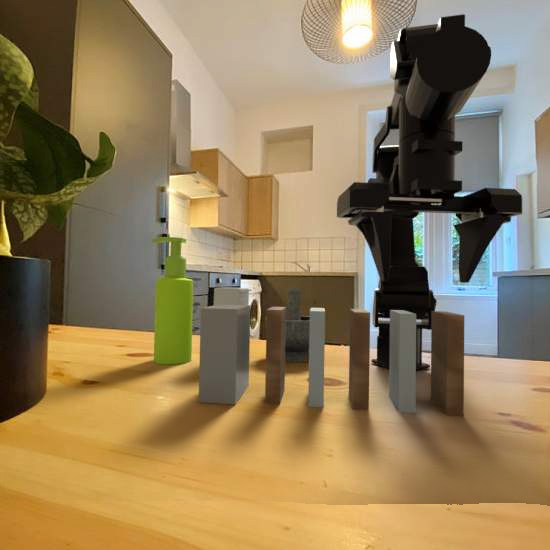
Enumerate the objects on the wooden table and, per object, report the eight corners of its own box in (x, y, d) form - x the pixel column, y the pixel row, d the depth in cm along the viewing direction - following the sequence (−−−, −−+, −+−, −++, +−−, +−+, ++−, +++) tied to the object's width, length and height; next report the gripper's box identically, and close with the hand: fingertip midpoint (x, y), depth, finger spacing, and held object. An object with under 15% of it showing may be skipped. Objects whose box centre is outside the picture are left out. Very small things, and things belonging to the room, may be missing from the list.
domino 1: (284, 390, 42) (286, 307, 42) (279, 404, 37) (281, 309, 37) (271, 389, 42) (272, 306, 42) (264, 403, 37) (266, 309, 37)
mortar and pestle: (320, 365, 55) (321, 289, 55) (261, 363, 55) (262, 288, 56) (318, 351, 66) (319, 288, 66) (269, 350, 67) (270, 287, 67)
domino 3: (362, 394, 41) (364, 309, 41) (368, 410, 36) (370, 312, 36) (348, 393, 41) (350, 308, 41) (352, 409, 36) (354, 312, 36)
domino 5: (445, 399, 39) (446, 311, 40) (463, 416, 34) (464, 315, 35) (430, 398, 40) (431, 311, 40) (446, 415, 35) (447, 314, 35)
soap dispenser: (158, 355, 60) (161, 239, 60) (196, 357, 59) (199, 239, 59) (140, 363, 54) (144, 235, 54) (182, 365, 53) (186, 235, 53)
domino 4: (403, 397, 40) (404, 310, 40) (415, 413, 35) (416, 314, 35) (389, 396, 40) (390, 309, 40) (398, 412, 35) (399, 313, 35)
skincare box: (237, 366, 53) (239, 288, 54) (211, 364, 54) (212, 287, 54) (248, 357, 59) (249, 287, 60) (224, 356, 60) (226, 287, 60)
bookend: (248, 385, 43) (250, 305, 44) (235, 404, 36) (237, 309, 37) (217, 383, 44) (219, 304, 44) (198, 402, 37) (200, 308, 37)
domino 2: (323, 392, 41) (324, 308, 41) (323, 407, 36) (325, 311, 36) (309, 391, 41) (310, 307, 42) (308, 406, 36) (309, 310, 37)
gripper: (461, 168, 47) (460, 283, 47) (326, 162, 46) (325, 280, 46) (527, 134, 36) (526, 283, 36) (352, 124, 35) (350, 280, 34)
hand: (424, 281), depth 38 cm, fingers open, 9 cm apart
